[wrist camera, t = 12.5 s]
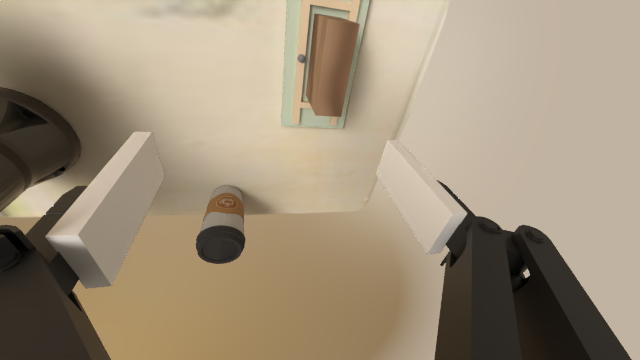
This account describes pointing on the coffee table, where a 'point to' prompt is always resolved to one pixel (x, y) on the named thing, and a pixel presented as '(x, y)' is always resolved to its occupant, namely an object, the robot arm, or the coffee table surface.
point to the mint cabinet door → (301, 7)
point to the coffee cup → (222, 227)
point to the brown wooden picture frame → (330, 63)
